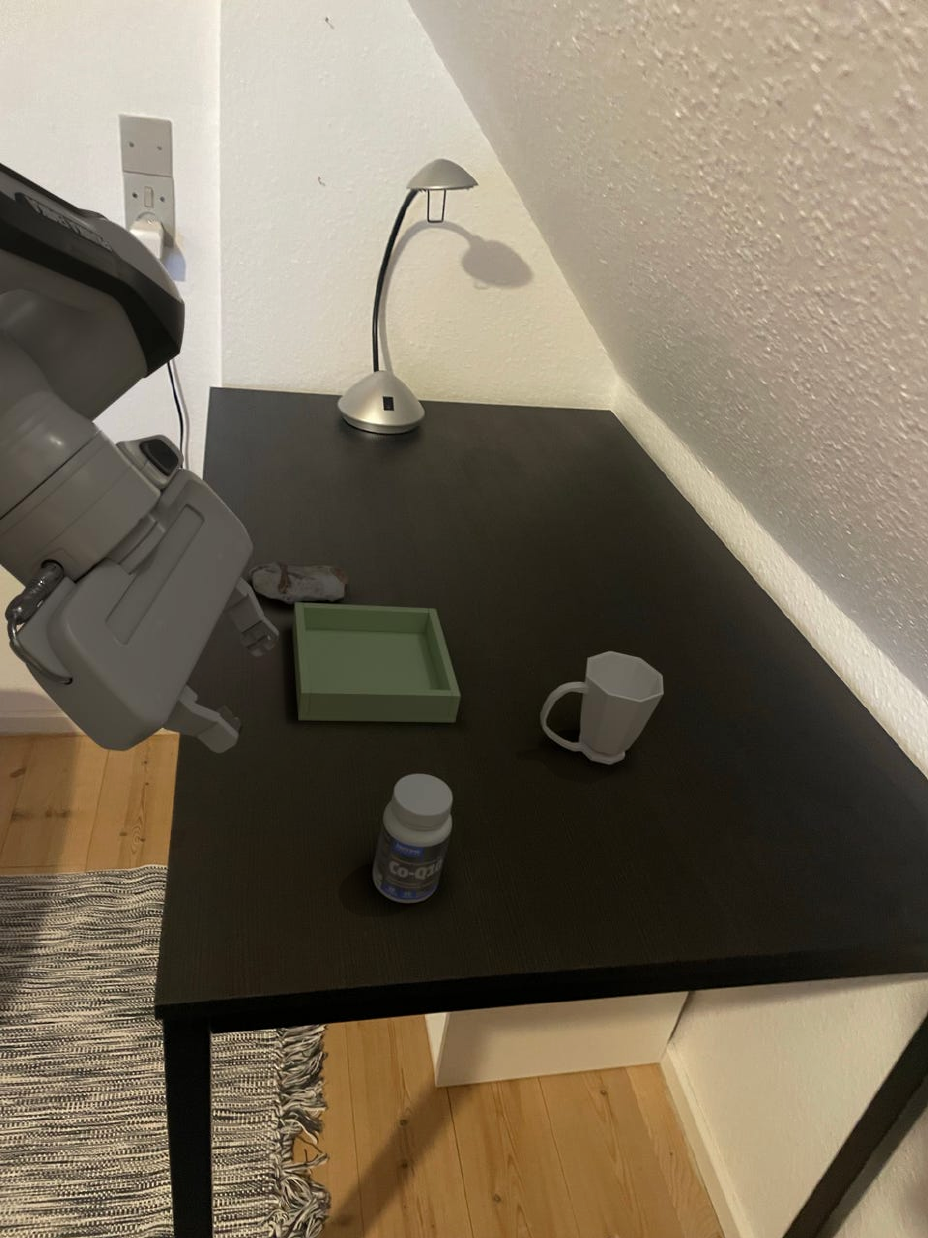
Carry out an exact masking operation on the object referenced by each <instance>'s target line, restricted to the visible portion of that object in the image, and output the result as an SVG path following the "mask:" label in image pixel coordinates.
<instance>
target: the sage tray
mask: <svg viewBox="0 0 928 1238" xmlns="http://www.w3.org/2000/svg"><path fill="white" fill-rule="evenodd" d="M291 628H292V630H291V631H292V643H293V644H292V645H293V646H292V647H293V660H294V676H295V690H296V706H297V708H296V709H297V719H298V721H317V722H318V721H320V722H322V721H323V722H327V721H328V722H385V723H386V722H389V723H390V722H391V723H395V722H397V723H400V722H401V723H456V721H457V715H458V711H459V707H460V702H461V698H462V695H461V691H460V688H459V684H458V681H457V677H456V675H455V671H454V668H453V664H452V659H451V657H450V654H449V650H448V646H447V643H446V639H445V637H444V636H445V635H444V632H443V630H442V629H443V628H442V627H441V622H440V619H439V615H438V612H437V609H436V608H432V607H429V608H427V607H406V606H387V605H385V606H383V605H362V604H344V603H343V604H341V603H339V604H338V603H321V602H320V603H319V602H295V603H293V615H292V627H291Z"/></svg>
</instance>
